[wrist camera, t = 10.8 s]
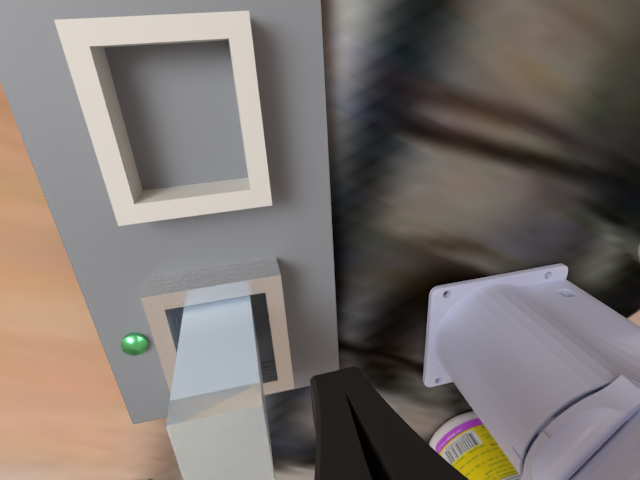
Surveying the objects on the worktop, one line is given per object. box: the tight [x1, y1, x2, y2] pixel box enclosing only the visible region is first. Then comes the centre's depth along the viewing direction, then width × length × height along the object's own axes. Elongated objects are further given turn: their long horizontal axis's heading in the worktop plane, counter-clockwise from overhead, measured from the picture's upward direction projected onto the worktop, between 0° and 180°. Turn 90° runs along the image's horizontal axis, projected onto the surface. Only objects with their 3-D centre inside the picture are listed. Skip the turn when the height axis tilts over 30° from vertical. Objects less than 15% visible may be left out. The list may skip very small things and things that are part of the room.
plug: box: [166, 295, 275, 480], centre depth 17 cm, size 3×4×8 cm
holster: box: [54, 11, 272, 226], centre depth 15 cm, size 6×7×2 cm
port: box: [121, 257, 294, 395], centre depth 20 cm, size 8×7×2 cm
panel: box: [0, 0, 339, 424], centre depth 19 cm, size 12×21×1 cm, turn 3°
